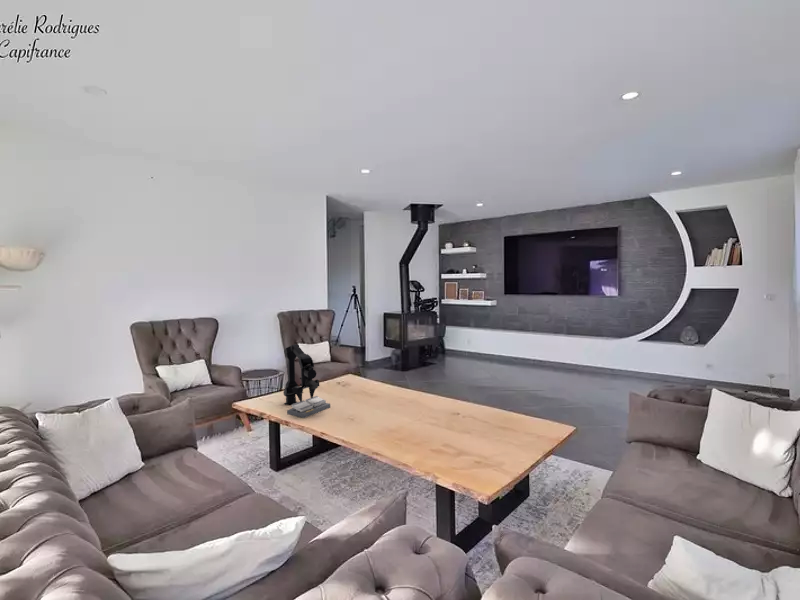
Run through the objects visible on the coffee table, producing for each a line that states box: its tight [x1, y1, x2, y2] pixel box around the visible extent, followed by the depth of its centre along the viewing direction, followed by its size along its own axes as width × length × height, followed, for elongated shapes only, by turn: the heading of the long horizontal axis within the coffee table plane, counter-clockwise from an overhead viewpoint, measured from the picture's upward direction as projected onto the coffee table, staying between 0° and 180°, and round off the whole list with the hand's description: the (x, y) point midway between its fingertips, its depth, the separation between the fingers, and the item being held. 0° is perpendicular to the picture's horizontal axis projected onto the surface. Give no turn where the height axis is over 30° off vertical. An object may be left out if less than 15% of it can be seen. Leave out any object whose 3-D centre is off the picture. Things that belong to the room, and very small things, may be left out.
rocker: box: [304, 395, 327, 407], centre depth 269 cm, size 9×10×2 cm
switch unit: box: [286, 402, 331, 419], centre depth 264 cm, size 15×24×4 cm, turn 148°
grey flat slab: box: [290, 399, 313, 412], centre depth 259 cm, size 9×10×2 cm
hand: (306, 399), depth 258 cm, fingers open, 9 cm apart
